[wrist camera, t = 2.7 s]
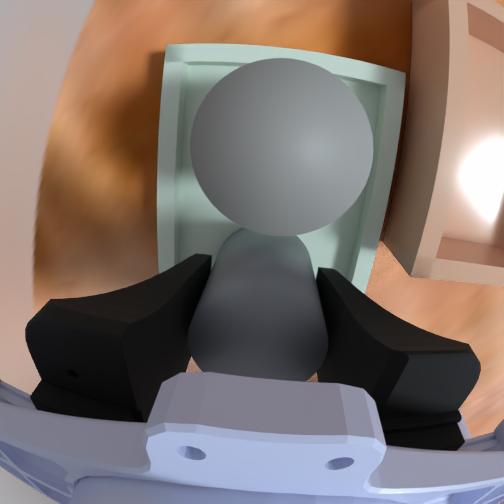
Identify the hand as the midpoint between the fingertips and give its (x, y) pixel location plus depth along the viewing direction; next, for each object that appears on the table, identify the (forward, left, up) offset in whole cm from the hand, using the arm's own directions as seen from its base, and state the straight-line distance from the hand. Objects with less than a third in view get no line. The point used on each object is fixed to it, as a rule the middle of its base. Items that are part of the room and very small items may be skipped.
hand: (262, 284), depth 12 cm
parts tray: (+3, 0, -2) cm, 3 cm away
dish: (+7, -9, -2) cm, 12 cm away
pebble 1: (+5, 0, -1) cm, 6 cm away
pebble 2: (0, 0, -1) cm, 1 cm away
